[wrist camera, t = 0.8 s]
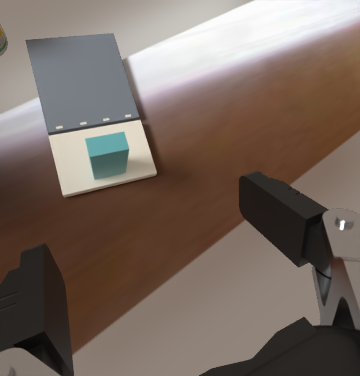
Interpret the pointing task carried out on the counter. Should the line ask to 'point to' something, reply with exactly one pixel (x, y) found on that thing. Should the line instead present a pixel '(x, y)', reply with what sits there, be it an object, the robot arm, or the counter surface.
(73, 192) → the teal block on base
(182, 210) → the counter surface
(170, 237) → the counter surface
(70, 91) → the board
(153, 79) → the counter surface
